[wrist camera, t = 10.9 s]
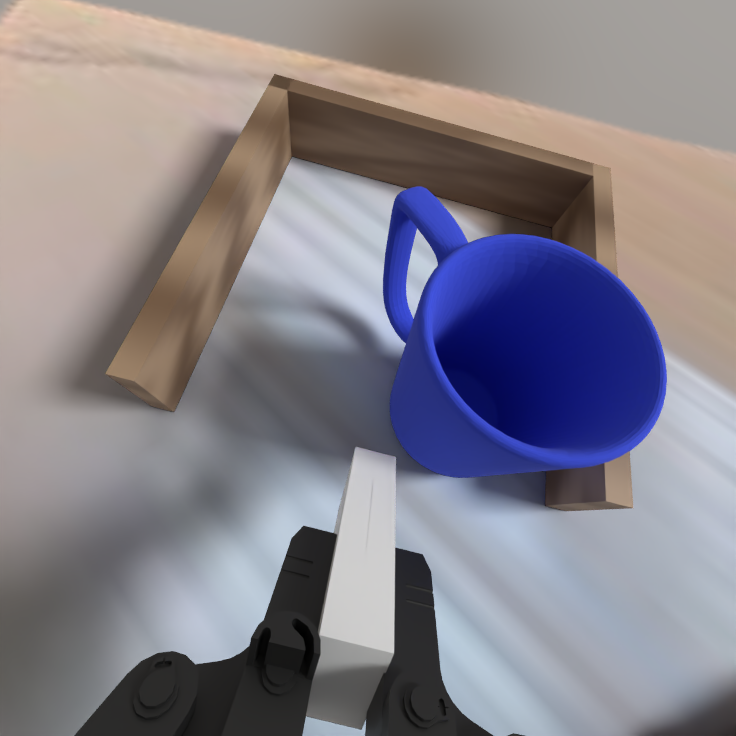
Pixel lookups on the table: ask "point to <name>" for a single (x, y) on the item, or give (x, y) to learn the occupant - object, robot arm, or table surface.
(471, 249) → the mug
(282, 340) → the table surface
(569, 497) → the box
